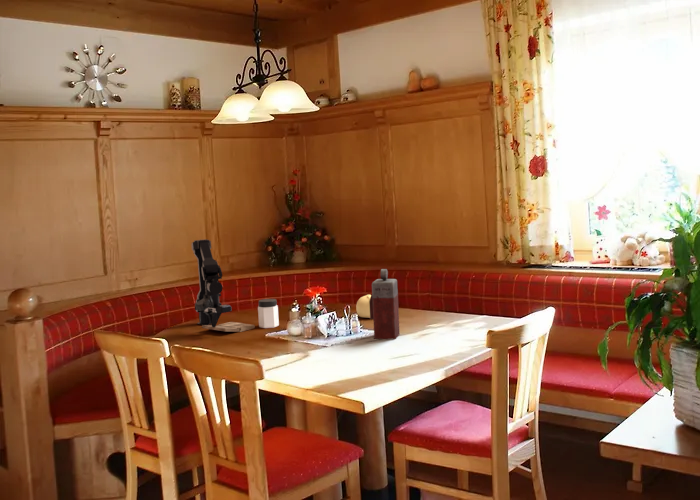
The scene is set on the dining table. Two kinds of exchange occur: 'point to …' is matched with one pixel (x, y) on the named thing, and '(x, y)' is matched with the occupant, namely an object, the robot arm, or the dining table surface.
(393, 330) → the red grey rectangular bottle
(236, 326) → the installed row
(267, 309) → the jar
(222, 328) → the plank
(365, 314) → the sculpture
